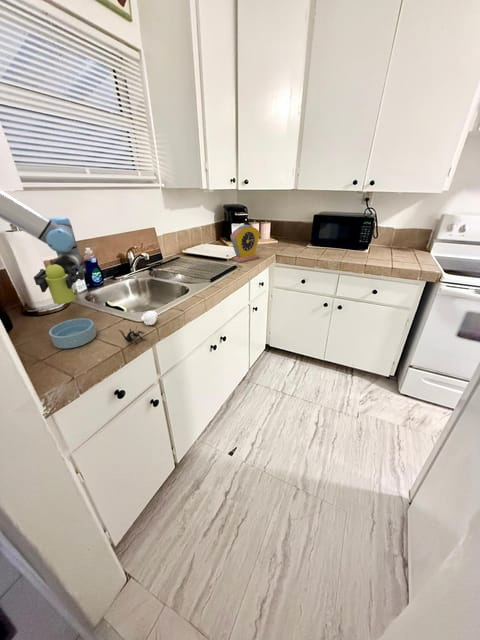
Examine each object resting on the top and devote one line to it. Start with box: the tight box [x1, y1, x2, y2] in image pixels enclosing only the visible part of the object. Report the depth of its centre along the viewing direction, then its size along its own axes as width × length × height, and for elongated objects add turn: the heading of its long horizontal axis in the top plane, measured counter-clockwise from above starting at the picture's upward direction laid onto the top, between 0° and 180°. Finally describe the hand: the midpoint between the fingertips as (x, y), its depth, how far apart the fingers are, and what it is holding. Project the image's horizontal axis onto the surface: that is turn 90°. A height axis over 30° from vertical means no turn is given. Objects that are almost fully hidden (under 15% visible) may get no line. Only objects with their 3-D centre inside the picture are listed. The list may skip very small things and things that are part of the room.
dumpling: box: [140, 310, 158, 326], centre depth 94 cm, size 7×5×4 cm
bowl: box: [48, 317, 97, 349], centre depth 84 cm, size 12×12×4 cm
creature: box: [118, 326, 146, 344], centre depth 83 cm, size 8×5×8 cm
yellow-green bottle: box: [45, 259, 76, 305], centre depth 81 cm, size 6×6×13 cm
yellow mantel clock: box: [229, 224, 261, 264], centre depth 167 cm, size 22×9×22 cm, turn 131°
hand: (55, 286), depth 77 cm, fingers closed on yellow-green bottle, 6 cm apart
